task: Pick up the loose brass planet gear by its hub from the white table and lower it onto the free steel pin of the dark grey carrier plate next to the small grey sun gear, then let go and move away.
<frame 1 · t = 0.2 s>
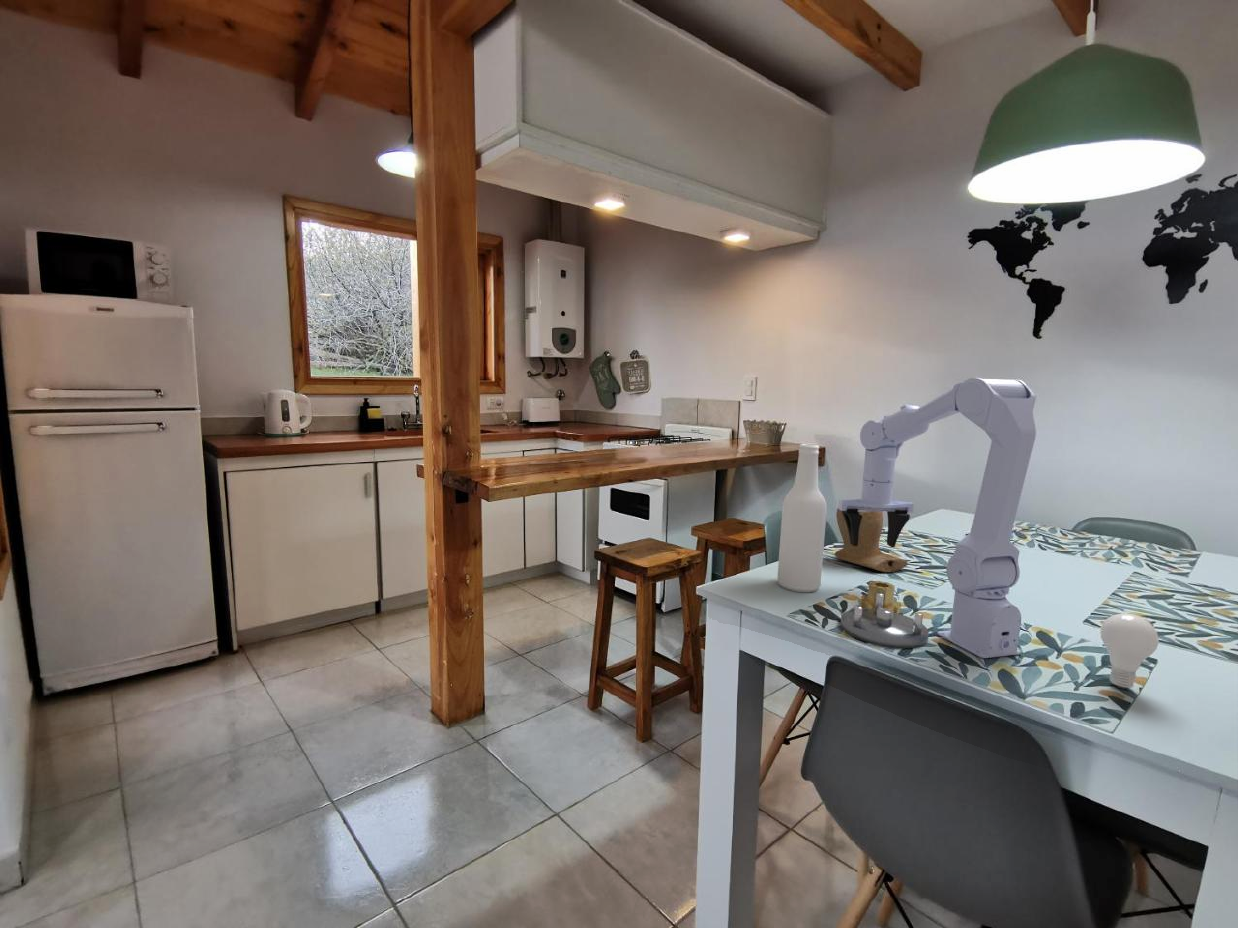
hand: (872, 545, 123), 10 cm above the table, tool pointing down, fingers open, 7 cm apart
planet gear: (879, 607, 116), on the table
lightbulb: (1120, 688, 87), on the table
carrier: (883, 630, 105), on the table
alcohol: (798, 586, 127), on the table
stone cup: (863, 566, 143), on the table
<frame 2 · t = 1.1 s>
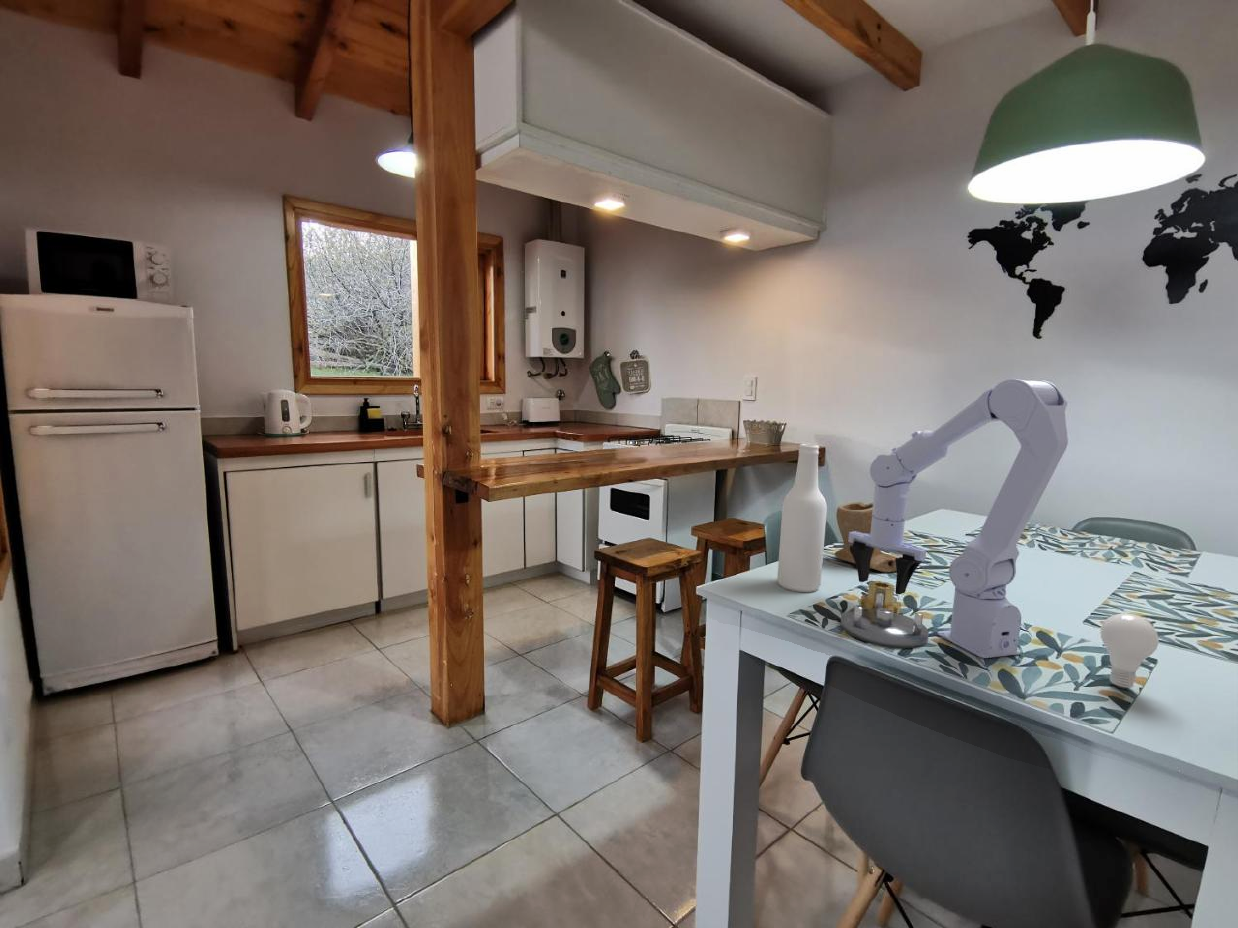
hand: (881, 586, 115), 4 cm above the table, tool pointing down, fingers open, 7 cm apart
nothing on the table moved.
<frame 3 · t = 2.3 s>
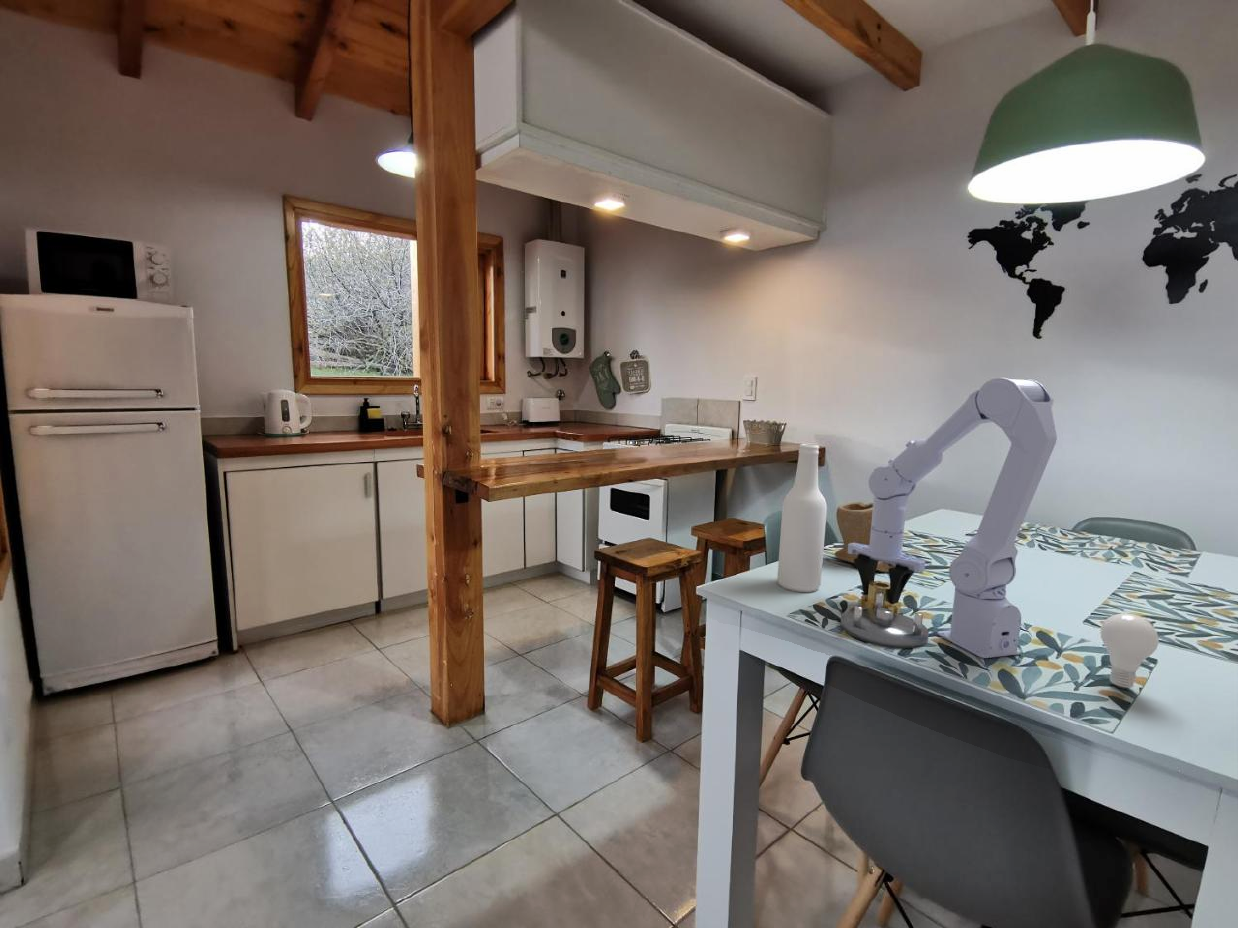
hand: (880, 598, 116), 2 cm above the table, tool pointing down, fingers closed on planet gear, 5 cm apart
planet gear: (879, 607, 116), on the table, touching gripper
everything else where it was.
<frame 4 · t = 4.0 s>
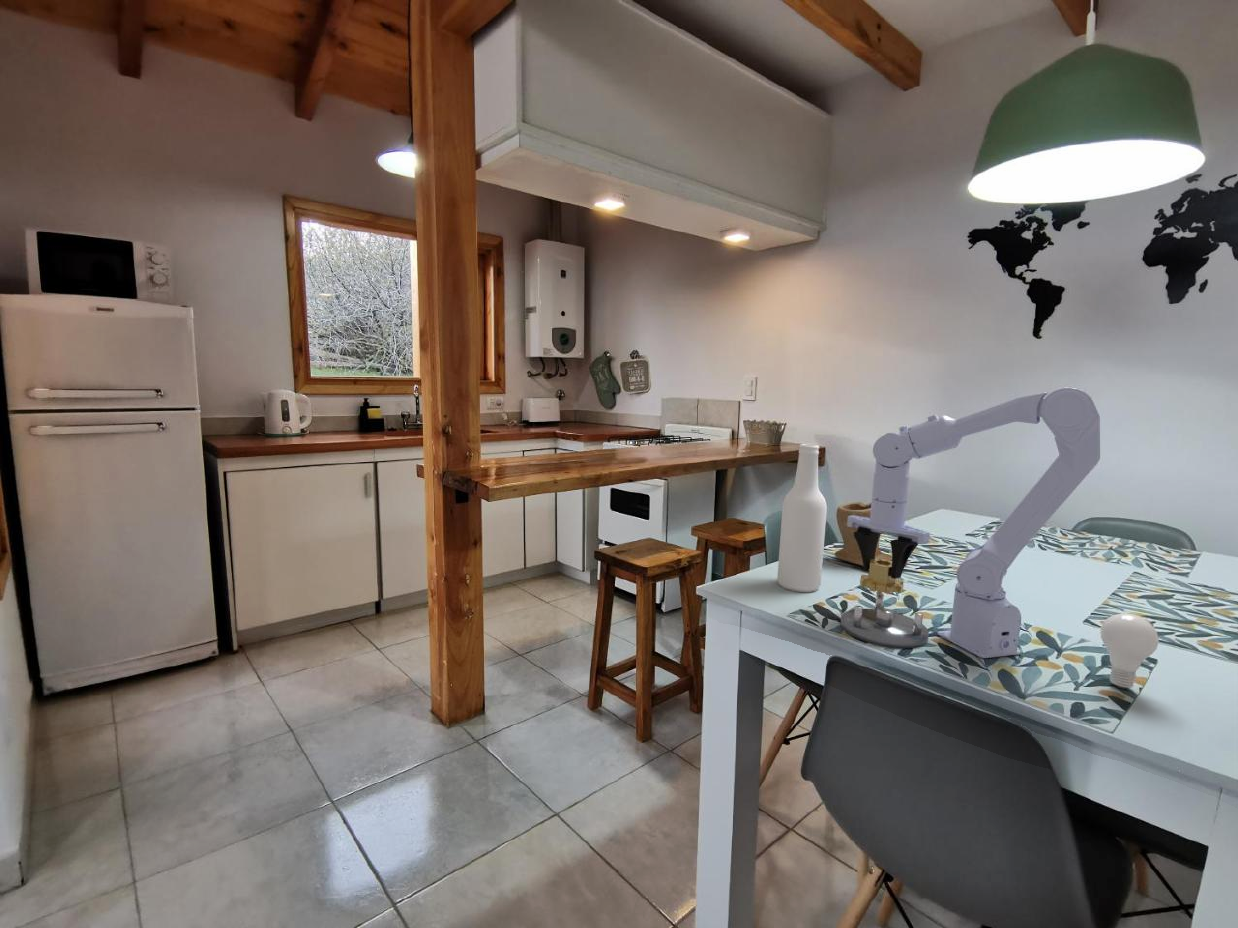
hand: (882, 573, 109), 9 cm above the table, tool pointing down, fingers closed on planet gear, 5 cm apart
planet gear: (881, 586, 109), point 6 cm above the table, touching gripper
everything else where it was.
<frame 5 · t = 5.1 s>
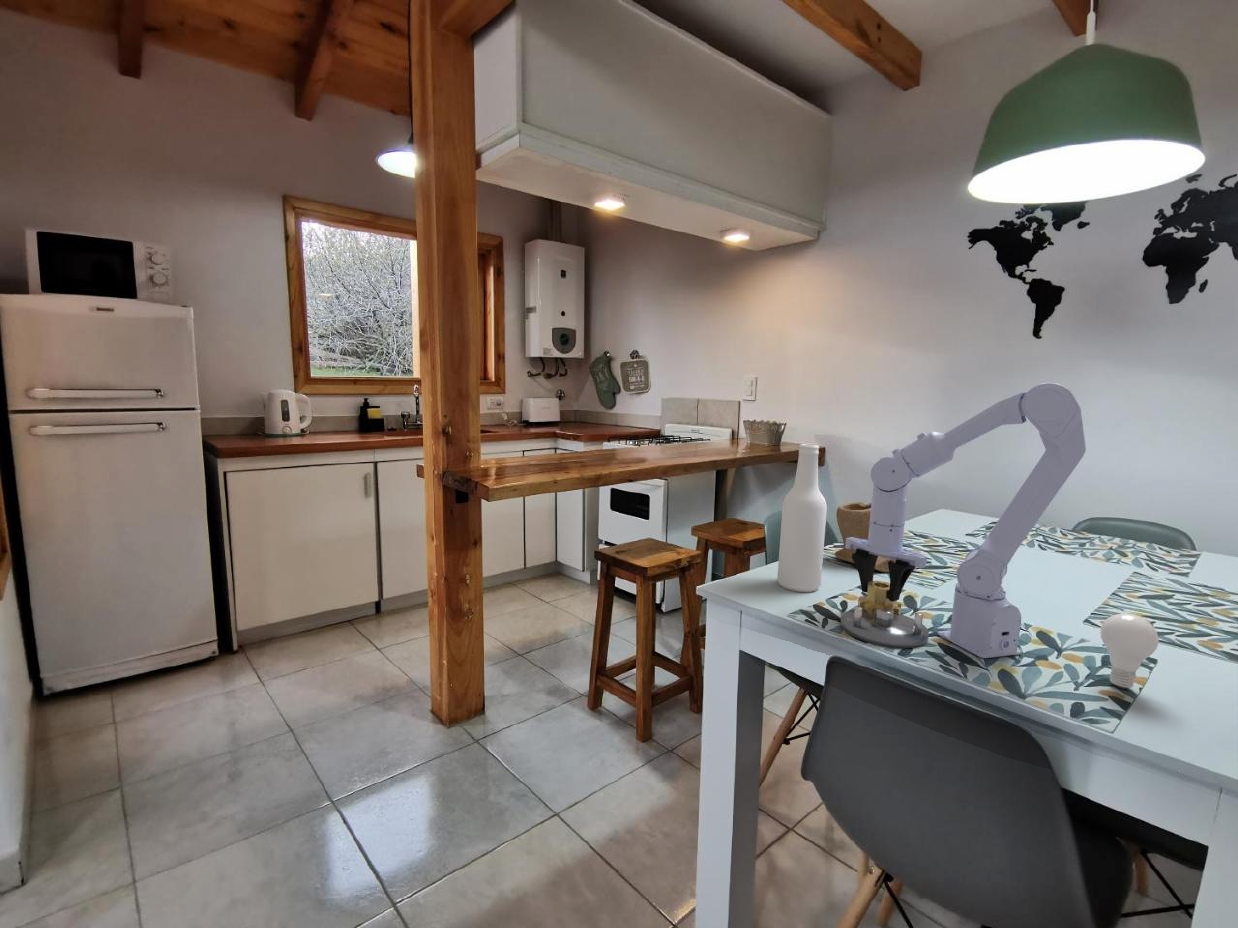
hand: (879, 595, 110), 4 cm above the table, tool pointing down, fingers closed on planet gear, 5 cm apart
planet gear: (879, 608, 110), point 2 cm above the table, touching gripper
everything else where it was.
when the fingers open (4 cm above the table, at t = 5.7 s): planet gear stays where it is, resting on carrier.
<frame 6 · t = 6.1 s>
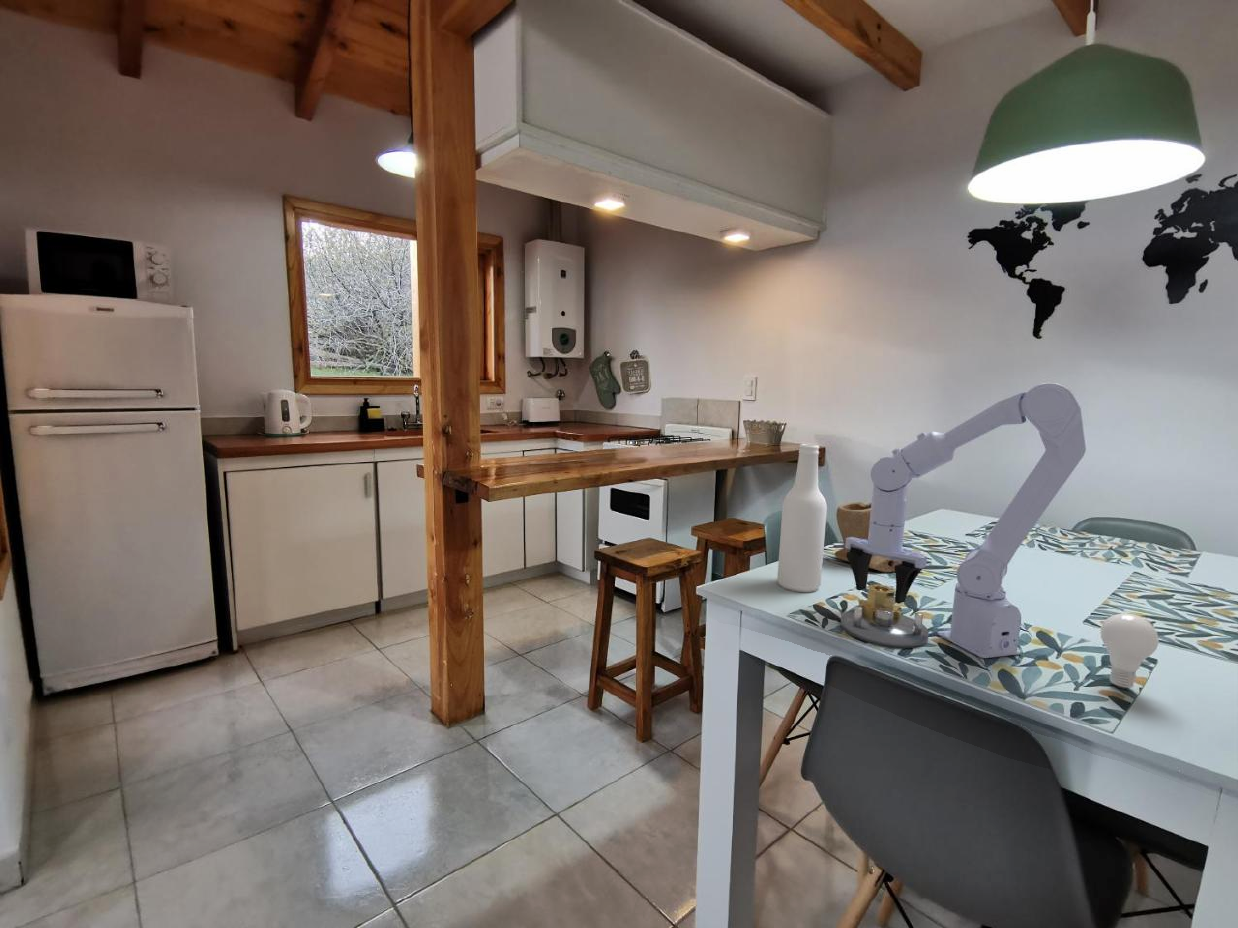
hand: (879, 595, 110), 4 cm above the table, tool pointing down, fingers open, 7 cm apart
planet gear: (879, 612, 110), point 1 cm above the table, touching carrier
everything else where it was.
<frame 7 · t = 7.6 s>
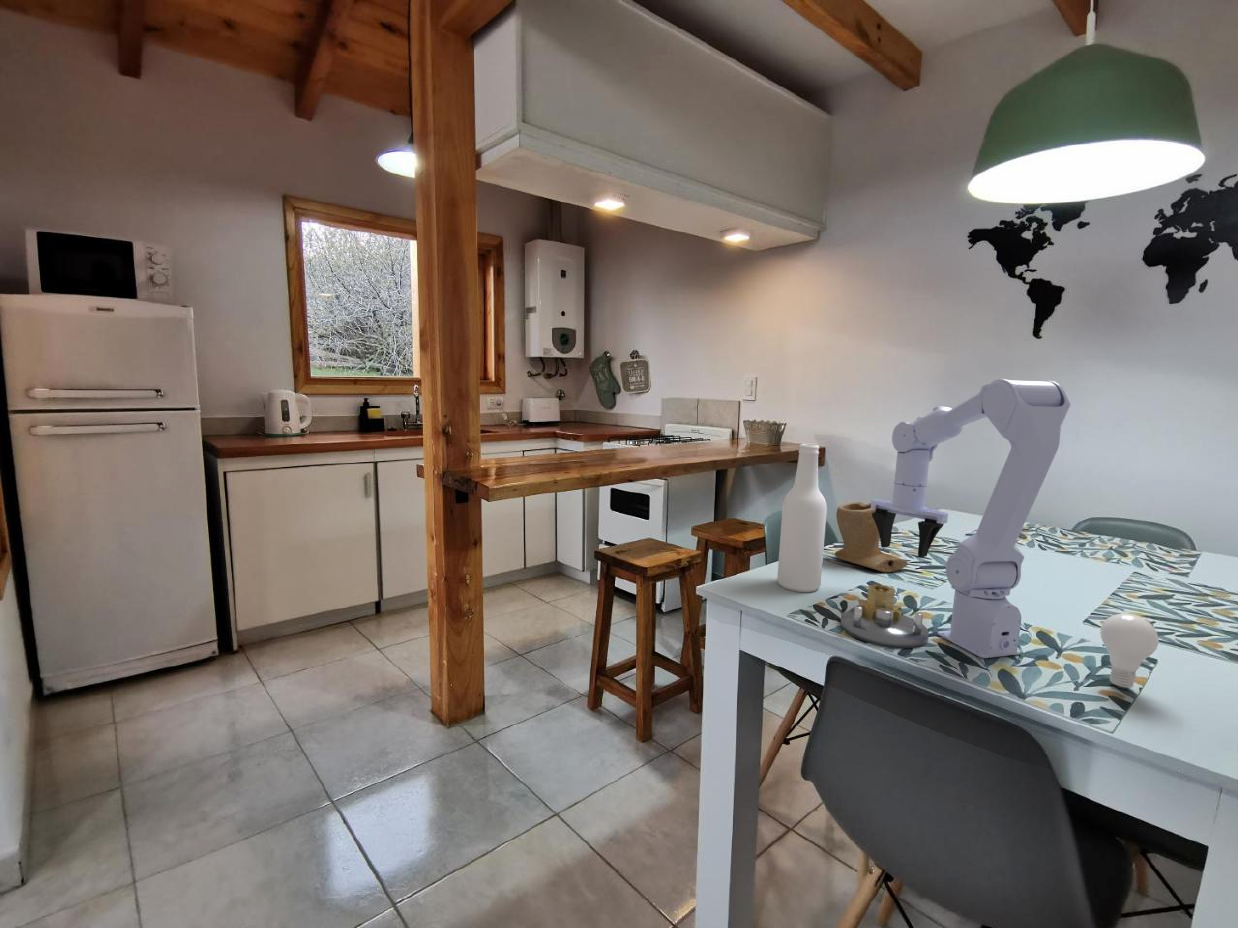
hand: (903, 551, 119), 10 cm above the table, tool pointing down, fingers open, 7 cm apart
nothing on the table moved.
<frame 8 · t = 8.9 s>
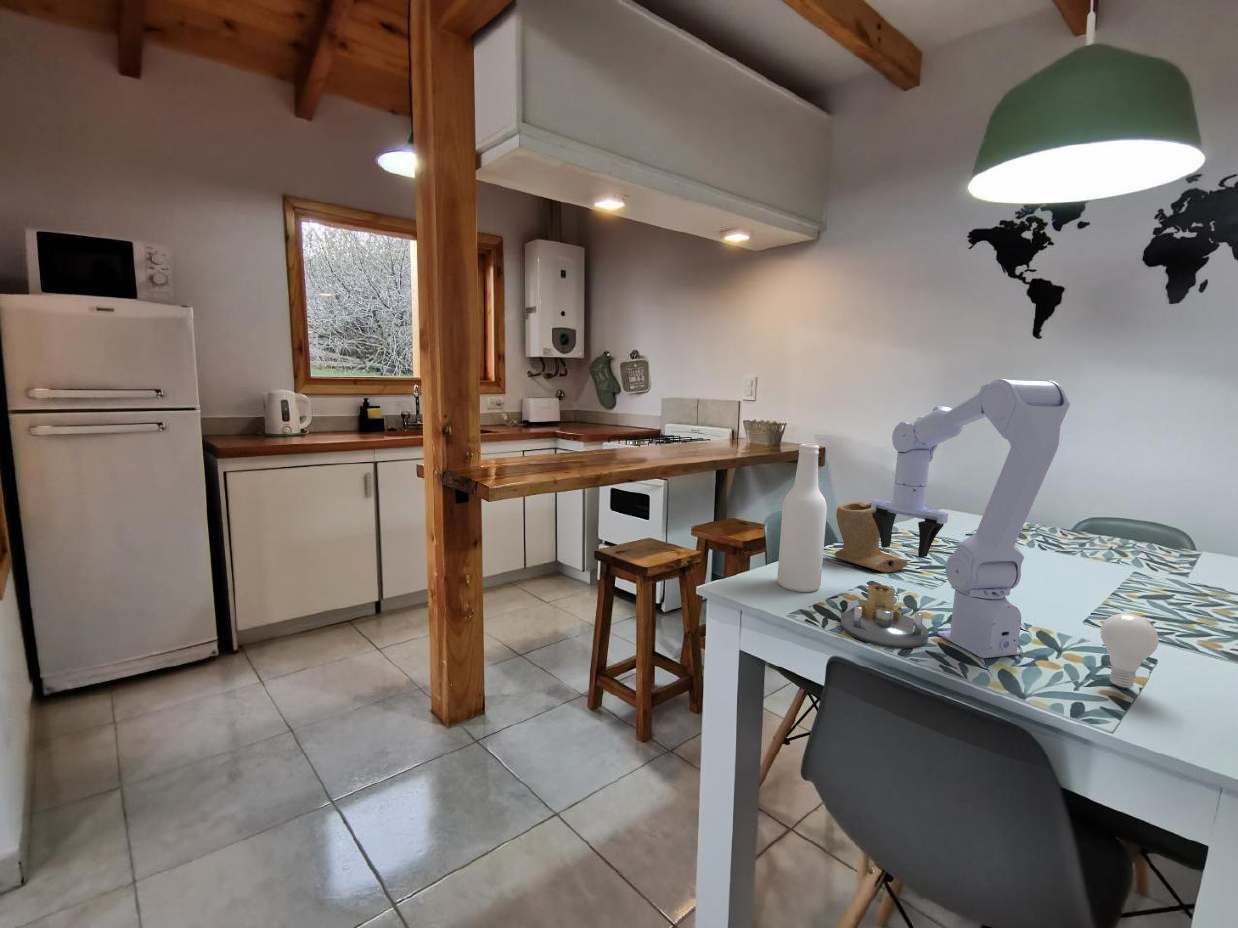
hand: (903, 551, 119), 10 cm above the table, tool pointing down, fingers open, 7 cm apart
nothing on the table moved.
at the end: planet gear 0.2 cm from the target spot on the carrier, point 1.2 cm above the carrier's base; planet gear tilted 0°; the gripper is holding nothing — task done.
